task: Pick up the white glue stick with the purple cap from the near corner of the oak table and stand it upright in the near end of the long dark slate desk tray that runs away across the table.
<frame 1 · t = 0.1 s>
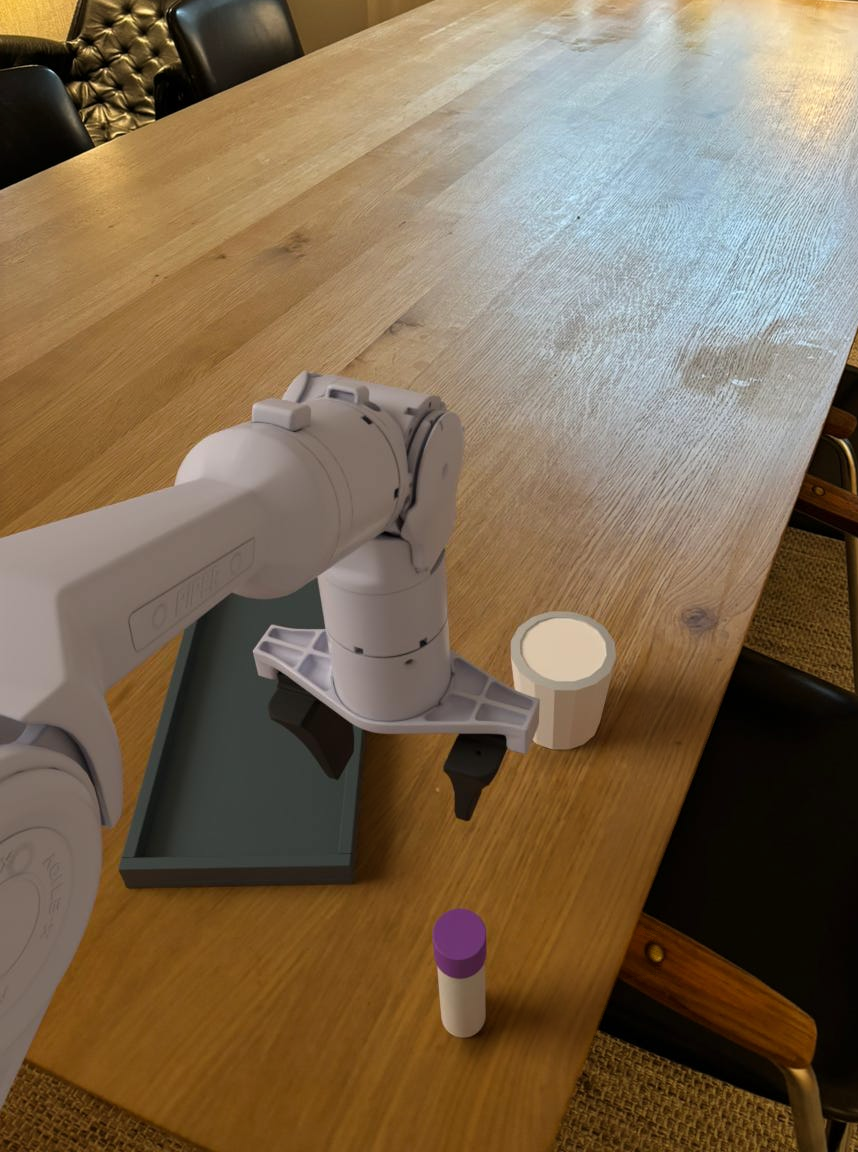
hand: (403, 784, 56), 9 cm above the table, tool pointing down, fingers open, 7 cm apart
desk tray: (281, 649, 76), on the table
white cup: (558, 718, 71), on the table
glue stick: (463, 1014, 55), on the table
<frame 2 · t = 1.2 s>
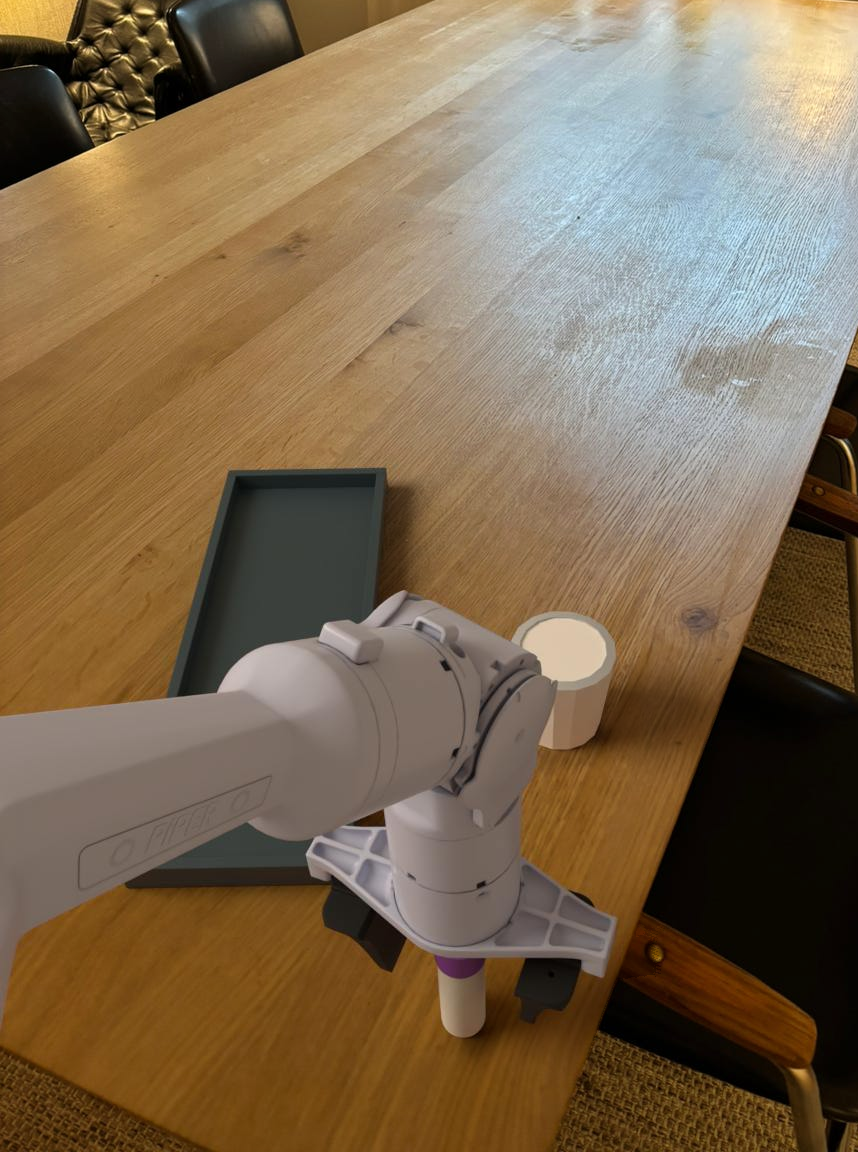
hand: (462, 977, 53), 4 cm above the table, tool pointing down, fingers open, 7 cm apart
nothing on the table moved.
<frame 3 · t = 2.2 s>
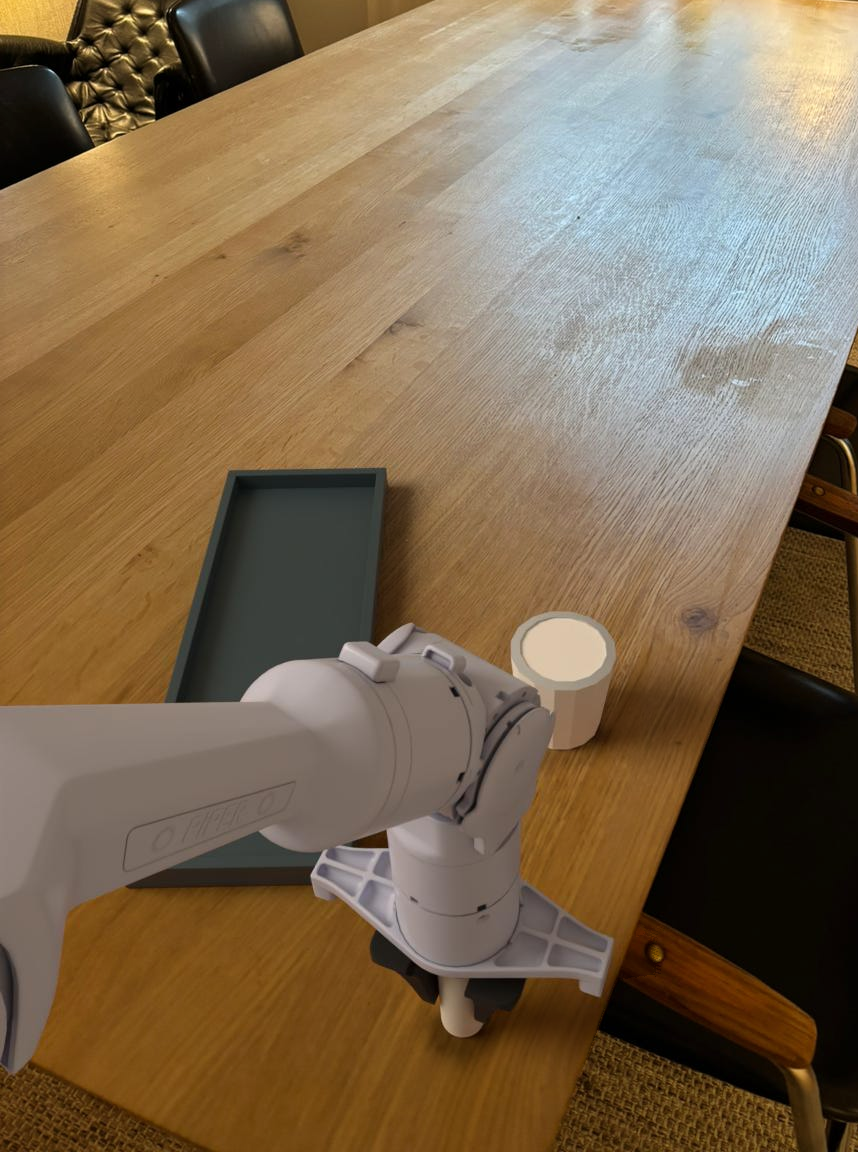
hand: (462, 994, 54), 2 cm above the table, tool pointing down, fingers closed on glue stick, 2 cm apart
glue stick: (463, 1014, 55), on the table, touching gripper
everything else where it was.
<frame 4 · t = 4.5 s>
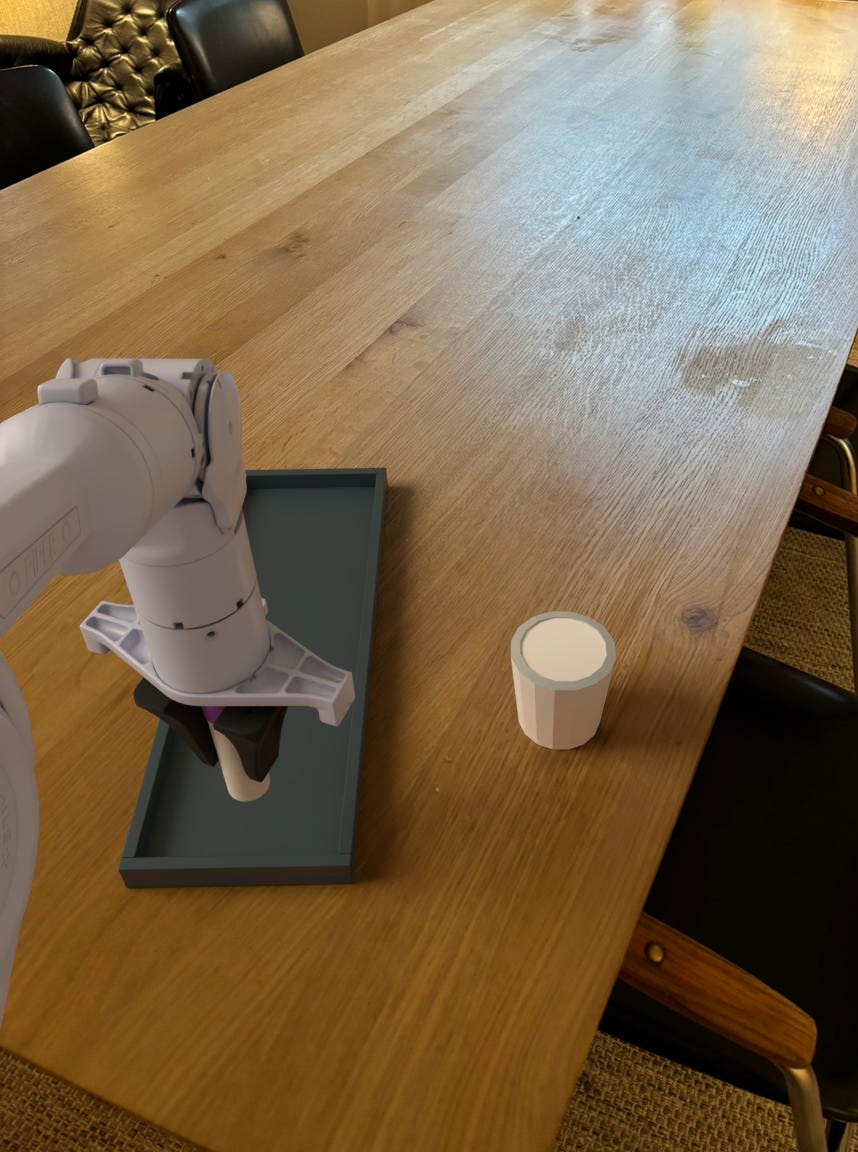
hand: (242, 759, 57), 9 cm above the table, tool pointing down, fingers closed on glue stick, 2 cm apart
glue stick: (249, 783, 59), point 7 cm above the table, touching gripper
everything else where it was.
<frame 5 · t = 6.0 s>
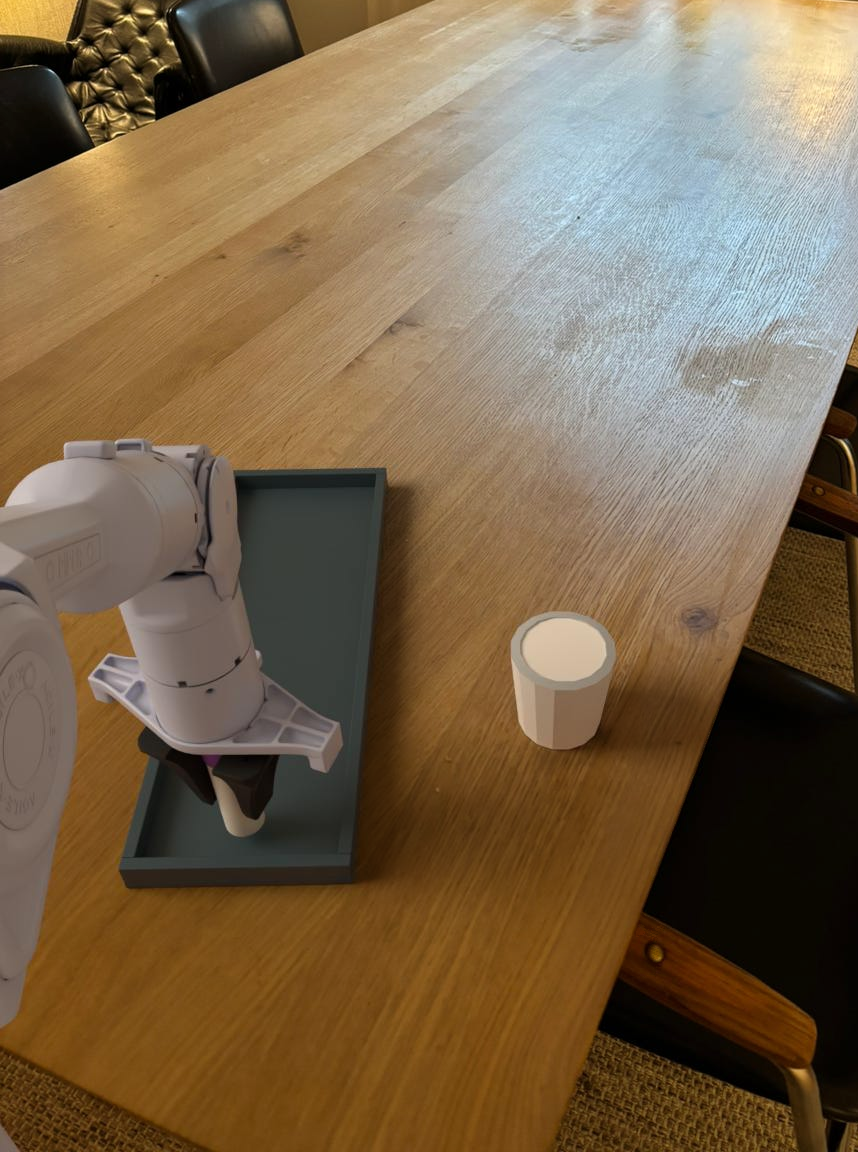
hand: (238, 798, 61), 4 cm above the table, tool pointing down, fingers closed on glue stick, 2 cm apart
glue stick: (245, 819, 63), point 2 cm above the table, touching gripper
everything else where it was.
when the fingers open (3 cm above the table, at t = 6.7 s): glue stick stays where it is, resting on desk tray.
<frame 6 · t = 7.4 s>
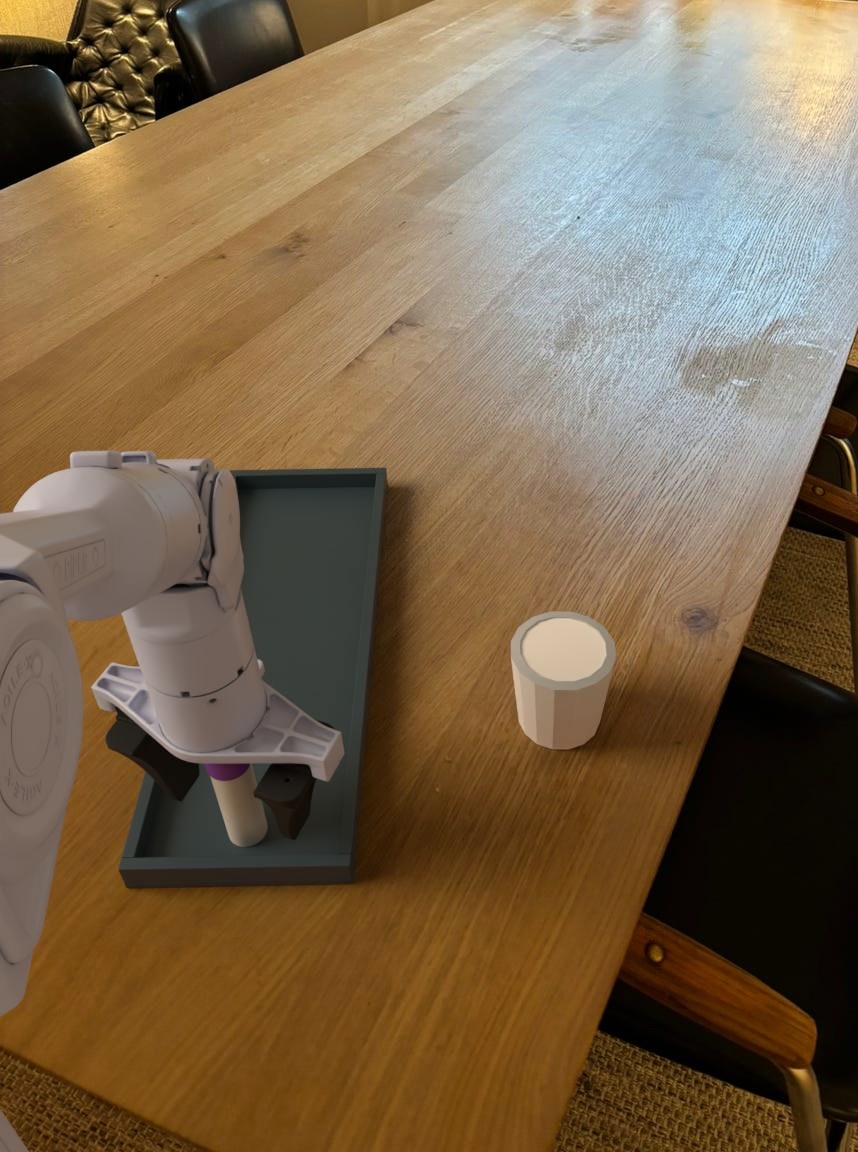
hand: (240, 805, 62), 3 cm above the table, tool pointing down, fingers open, 7 cm apart
glue stick: (248, 829, 64), point 1 cm above the table, touching desk tray
everything else where it was.
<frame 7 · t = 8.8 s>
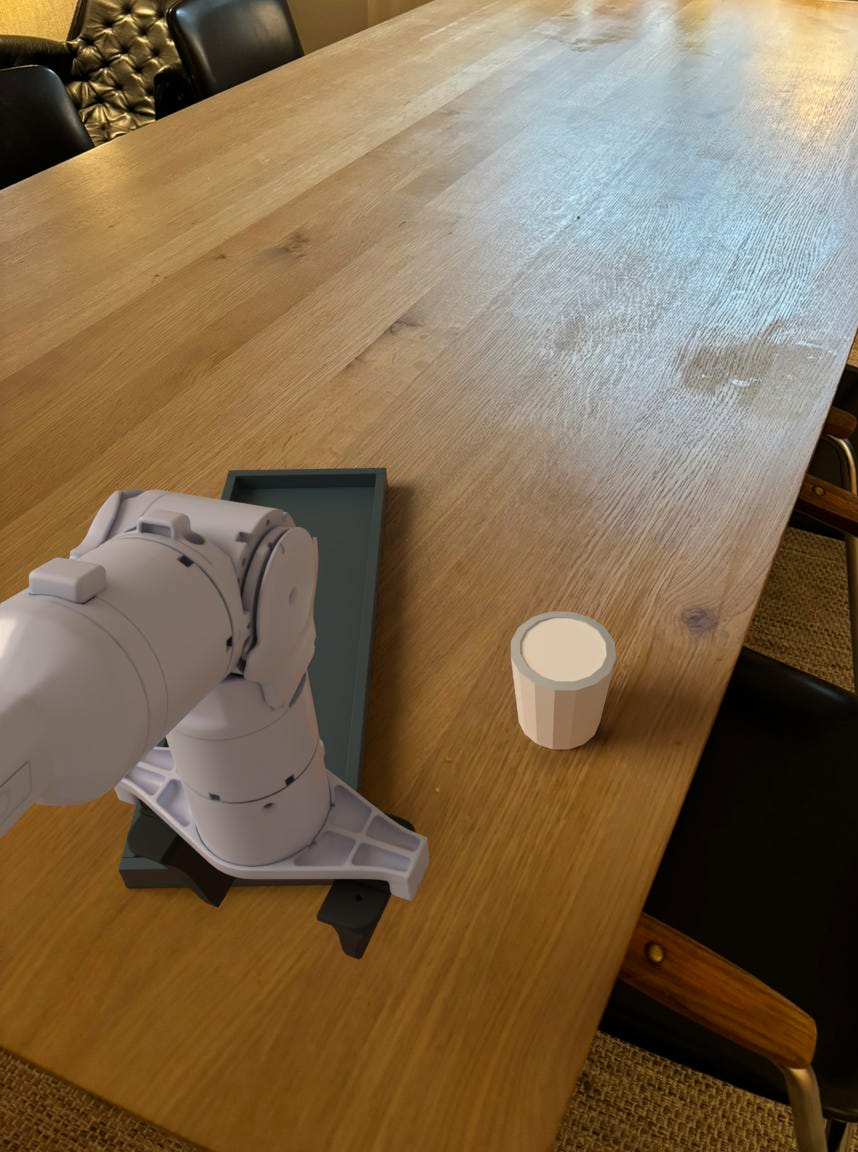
hand: (291, 912, 50), 9 cm above the table, tool pointing down, fingers open, 7 cm apart
nothing on the table moved.
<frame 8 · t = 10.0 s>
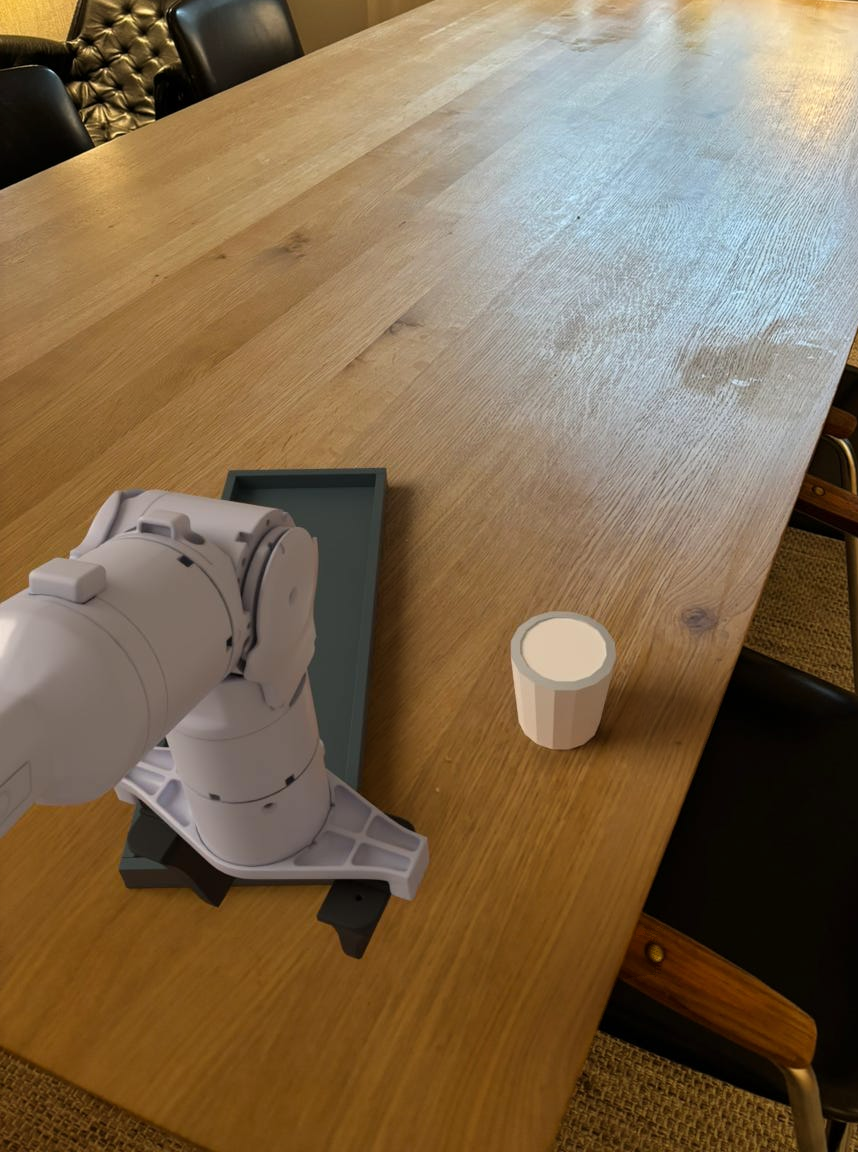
hand: (291, 912, 50), 9 cm above the table, tool pointing down, fingers open, 7 cm apart
nothing on the table moved.
at the end: glue stick 0.1 cm from the target spot in the desk tray, point 0.6 cm above the desk tray's base; glue stick tilted 0°; the gripper is holding nothing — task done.
